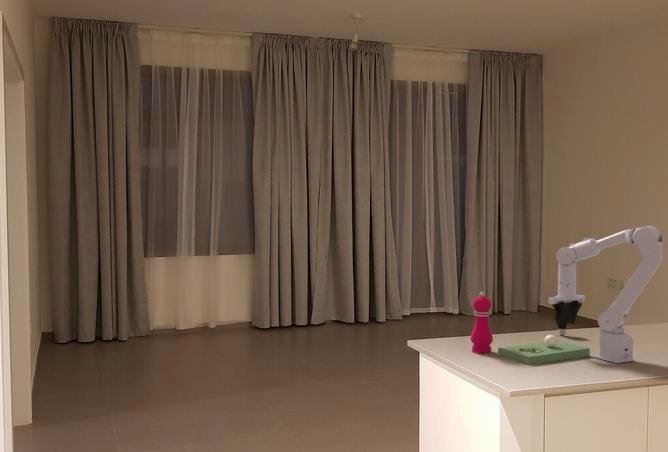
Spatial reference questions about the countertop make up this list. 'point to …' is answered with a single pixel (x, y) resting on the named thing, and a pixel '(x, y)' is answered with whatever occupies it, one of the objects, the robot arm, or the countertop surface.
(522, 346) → the putting mat
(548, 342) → the golf ball
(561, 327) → the light bulb
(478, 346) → the pepper mill
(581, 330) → the countertop surface
